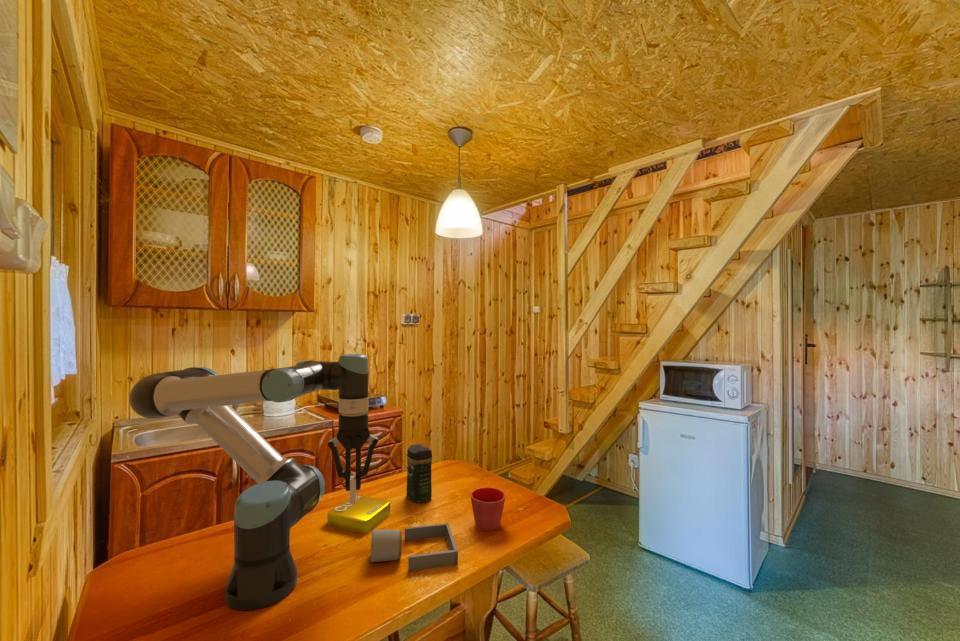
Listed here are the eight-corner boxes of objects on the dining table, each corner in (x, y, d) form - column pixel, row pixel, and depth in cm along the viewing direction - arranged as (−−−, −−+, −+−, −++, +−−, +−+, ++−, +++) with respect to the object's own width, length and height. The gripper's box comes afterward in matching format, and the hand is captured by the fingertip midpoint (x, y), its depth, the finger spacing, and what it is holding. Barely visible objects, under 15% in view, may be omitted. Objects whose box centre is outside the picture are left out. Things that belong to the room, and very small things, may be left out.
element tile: (365, 536, 122) (365, 520, 122) (324, 526, 127) (324, 511, 127) (392, 513, 136) (392, 499, 136) (354, 505, 141) (355, 492, 141)
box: (408, 571, 105) (408, 557, 105) (404, 539, 120) (404, 527, 120) (457, 564, 108) (457, 551, 108) (448, 534, 123) (448, 523, 123)
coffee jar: (435, 500, 146) (435, 448, 145) (414, 505, 141) (414, 451, 141) (423, 490, 154) (424, 440, 154) (403, 495, 149) (404, 444, 149)
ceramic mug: (402, 565, 108) (402, 535, 108) (369, 568, 106) (370, 538, 106) (401, 543, 118) (401, 517, 118) (371, 546, 116) (372, 519, 116)
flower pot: (486, 538, 121) (487, 505, 121) (463, 523, 129) (463, 493, 129) (512, 526, 128) (512, 495, 128) (488, 513, 136) (488, 484, 136)
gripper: (325, 417, 103) (325, 511, 104) (379, 415, 106) (378, 505, 107) (329, 410, 111) (328, 498, 111) (379, 408, 114) (378, 493, 114)
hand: (353, 501), depth 109 cm, fingers closed
